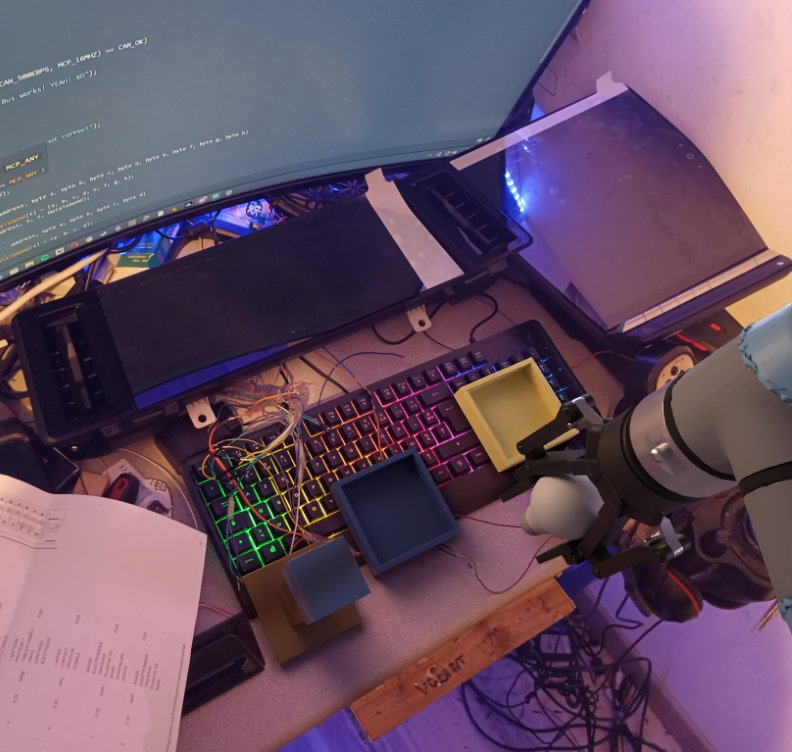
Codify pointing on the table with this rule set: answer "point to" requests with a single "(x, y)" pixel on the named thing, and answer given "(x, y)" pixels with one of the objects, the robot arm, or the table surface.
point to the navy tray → (394, 510)
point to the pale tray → (510, 410)
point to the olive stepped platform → (291, 611)
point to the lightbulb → (562, 507)
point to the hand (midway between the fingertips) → (530, 523)
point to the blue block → (325, 580)
